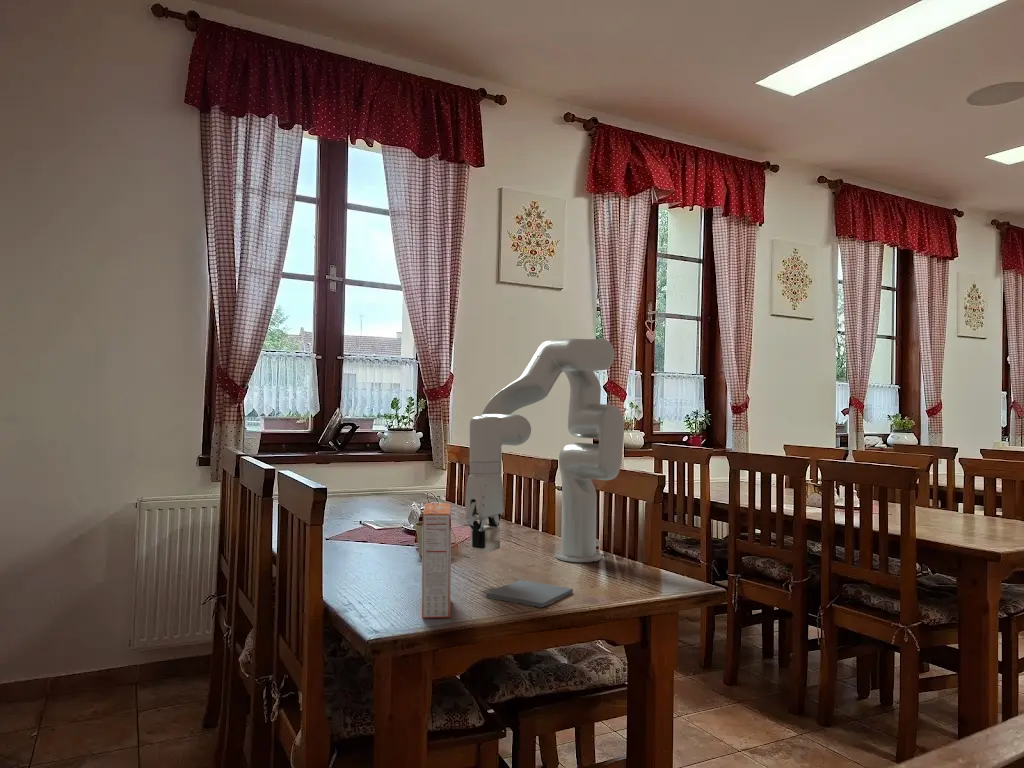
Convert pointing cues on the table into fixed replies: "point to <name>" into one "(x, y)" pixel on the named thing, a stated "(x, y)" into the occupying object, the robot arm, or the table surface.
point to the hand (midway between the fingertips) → (485, 544)
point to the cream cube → (489, 539)
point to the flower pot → (419, 535)
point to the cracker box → (436, 560)
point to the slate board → (529, 593)
